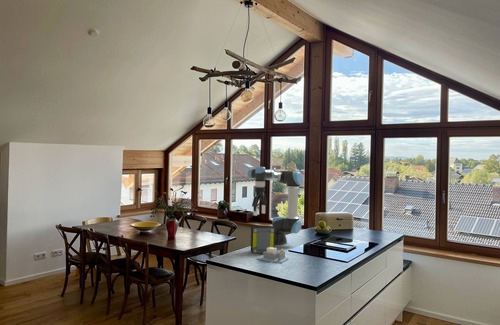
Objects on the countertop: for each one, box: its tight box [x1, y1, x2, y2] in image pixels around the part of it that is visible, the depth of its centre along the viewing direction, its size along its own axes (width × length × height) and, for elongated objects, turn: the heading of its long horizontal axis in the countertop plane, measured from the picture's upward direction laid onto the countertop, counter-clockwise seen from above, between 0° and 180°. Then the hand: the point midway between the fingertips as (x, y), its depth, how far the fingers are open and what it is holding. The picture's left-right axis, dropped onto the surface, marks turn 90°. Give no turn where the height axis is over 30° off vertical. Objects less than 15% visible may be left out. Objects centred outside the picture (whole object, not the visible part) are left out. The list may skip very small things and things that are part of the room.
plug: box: [267, 247, 278, 254], centre depth 273 cm, size 4×6×7 cm
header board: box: [256, 248, 289, 264], centre depth 272 cm, size 12×20×9 cm, turn 61°
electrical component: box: [250, 225, 275, 254], centre depth 294 cm, size 18×10×20 cm, turn 101°
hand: (259, 214), depth 282 cm, fingers open, 13 cm apart
